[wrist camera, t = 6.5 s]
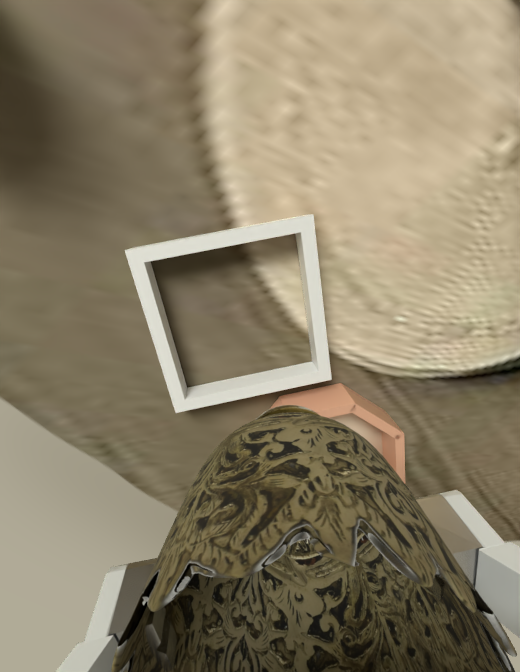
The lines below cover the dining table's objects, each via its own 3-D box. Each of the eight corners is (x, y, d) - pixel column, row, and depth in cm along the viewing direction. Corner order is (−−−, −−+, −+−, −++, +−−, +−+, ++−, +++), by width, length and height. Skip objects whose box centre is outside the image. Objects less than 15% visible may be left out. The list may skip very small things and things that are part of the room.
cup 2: (314, 528, 15) (356, 832, 8) (169, 460, 14) (55, 738, 7) (420, 409, 13) (627, 682, 5) (256, 317, 12) (230, 497, 4)
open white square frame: (306, 214, 25) (313, 214, 23) (324, 369, 29) (331, 379, 27) (132, 247, 24) (124, 250, 22) (178, 400, 29) (175, 412, 27)
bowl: (383, 373, 30) (403, 393, 27) (388, 487, 35) (406, 515, 32) (235, 405, 29) (237, 428, 26) (262, 516, 34) (266, 548, 31)
